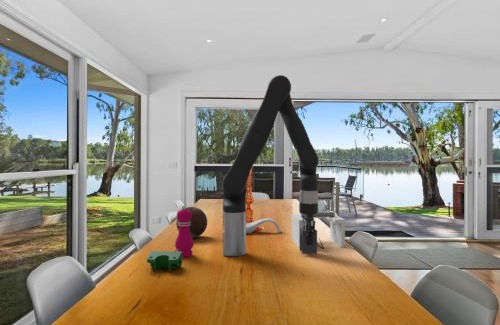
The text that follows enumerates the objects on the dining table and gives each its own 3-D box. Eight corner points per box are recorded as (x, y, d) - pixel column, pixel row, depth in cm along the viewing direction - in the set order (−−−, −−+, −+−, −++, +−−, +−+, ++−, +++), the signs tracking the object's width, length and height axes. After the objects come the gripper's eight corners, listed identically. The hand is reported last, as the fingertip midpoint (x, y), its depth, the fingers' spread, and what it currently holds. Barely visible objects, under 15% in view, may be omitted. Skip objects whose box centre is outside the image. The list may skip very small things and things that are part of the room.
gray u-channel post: (302, 253, 155) (302, 230, 155) (299, 250, 160) (299, 228, 160) (316, 253, 155) (317, 230, 155) (314, 250, 160) (314, 228, 160)
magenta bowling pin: (197, 254, 157) (196, 204, 157) (186, 258, 151) (186, 207, 150) (182, 252, 160) (181, 204, 160) (171, 256, 154) (171, 206, 153)
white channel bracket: (299, 248, 167) (299, 215, 167) (292, 239, 185) (292, 209, 185) (344, 247, 168) (345, 215, 168) (333, 238, 186) (333, 209, 186)
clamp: (153, 282, 135) (141, 261, 133) (158, 273, 141) (146, 252, 139) (183, 271, 133) (171, 249, 131) (187, 262, 139) (176, 241, 137)
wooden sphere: (211, 235, 195) (210, 205, 195) (202, 241, 181) (202, 209, 180) (182, 234, 198) (182, 204, 198) (171, 240, 183) (171, 208, 183)
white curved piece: (233, 235, 197) (233, 220, 197) (234, 230, 208) (234, 217, 208) (280, 234, 197) (280, 220, 197) (278, 230, 208) (278, 217, 208)
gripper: (296, 199, 164) (295, 239, 164) (302, 203, 150) (302, 247, 150) (313, 199, 164) (313, 239, 165) (322, 203, 150) (321, 247, 150)
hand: (308, 243), depth 157 cm, fingers closed on gray u-channel post, 5 cm apart
